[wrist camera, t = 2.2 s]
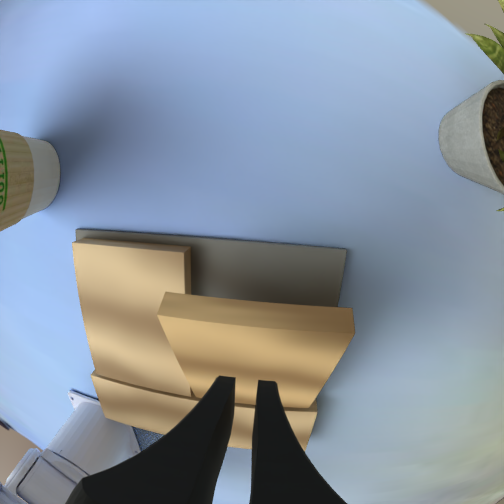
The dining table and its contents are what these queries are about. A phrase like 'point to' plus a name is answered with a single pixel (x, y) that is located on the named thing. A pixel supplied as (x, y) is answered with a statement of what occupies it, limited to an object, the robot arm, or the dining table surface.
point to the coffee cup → (26, 177)
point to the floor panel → (193, 283)
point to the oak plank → (256, 344)
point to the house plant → (478, 126)
